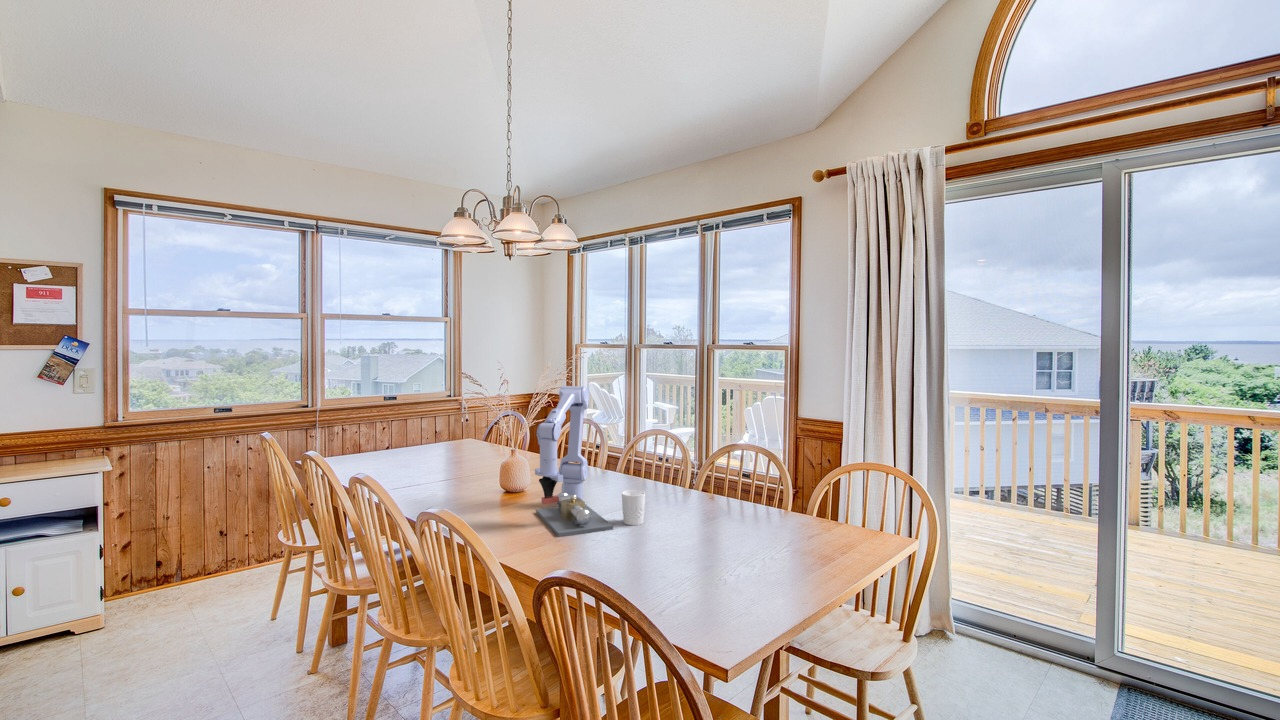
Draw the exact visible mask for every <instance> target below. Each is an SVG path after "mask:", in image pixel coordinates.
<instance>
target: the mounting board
mask: <svg viewBox="0 0 1280 720" xmlns="http://www.w3.org/2000/svg"><path fill="white" fill-rule="evenodd" d="M585 509H586V510H588V511H589V512H590V513H591V515H592V519H591V521H590V523H589V524H588V525H580V526H574V525H573V524H572V520H571V521H566V520H565V519H564V518H563V517H562V516H561V512H560V511H559V506H554V507H546V508H537V509H536V510H535V513H536V515H538V516H539V518H541V519H540V520H542V521H543V522H544V523H545V524H546V525H547V526H548V527H549V528H550V530H551V531H552V533H554V534H555V535H556V536H557V537H558V538H562V537H568V536H575V535H581V534H590V533H598V532H605V531H611V530H614V525H613V524H611V523H610V522H609V521H607V520H606V519H605V518H604V517H602V516H601V515H600V514H598V512H596V511H595V510H594V509H592V508H591V507H589V506H588V504H586V503H585Z"/></svg>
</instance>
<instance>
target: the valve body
mask: <svg viewBox="0 0 1280 720" xmlns="http://www.w3.org/2000/svg"><path fill="white" fill-rule="evenodd" d="M556 495H557V496H558V497H559V496H566V495H568V494H567V493H565V492H562V491H561V492H559V493H557V494H556ZM556 504H557V505H558V507H559V511H560V512H561V516H562V517H563V518H564V519H565V520H566V521H571V520H572V524H573V525H574V526H580V525H588V524H589V523H590V521H591V519H592V515H591V513H590V512H589V511H588V510H586V509H585V504H586V502H585V501H584V499H583V500H582V499H580V498H579V497H578V498H577V499H567V500H560V501H559V502H557V503H556Z"/></svg>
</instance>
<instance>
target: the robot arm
mask: <svg viewBox="0 0 1280 720" xmlns="http://www.w3.org/2000/svg"><path fill="white" fill-rule="evenodd" d="M558 397H559V400H558V403H557V405H556V407H554V408H552V409H551V410H550V411H549V414H548V415H547V417H546V418H545V420H544V422H541V423H540V424H538V426H537V429H536V437H537V444H538V446H539V467H538V468H535V469H534V475H536V476H538V477H542V478H539V479H538V482H539V484H540V486H541V487H542V491H543V494H544V495H543V497H548V496H554V490H555V487H556V486H557V484H558V483H560V482H562V484H561V492H565V493H567V494H568V495H569V494H576V495H577V498H578V497H579V498H580V499H582V500H583V501H584V481H586V480H587V478H588V476H589V475H588V474H589V466H588V463H589V462H588V459H587V458H586V457H584V456H583V455H582V444H583V428H584V416H585V415H584V414H585V410H588V408H589V402H590V401H589V400H590V392H589V388H588V386H587V385H585V386H584V385H583V386H581V385H580V386H575V385H562V386H561V387H560V389H559V392H558ZM568 410H569V411H570V419H569V420H570V421H569V431H568V444H567V445H568V446H567V454H566V455H565V456H563V457H562V458H561V459H560V463H559V466H558V440H559V439H560V438H561V437H560V436H561V432H562V426H563V424H564V423H565V421H566V418H567V415H566V413H567V411H568Z"/></svg>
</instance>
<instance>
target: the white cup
mask: <svg viewBox="0 0 1280 720" xmlns="http://www.w3.org/2000/svg"><path fill="white" fill-rule="evenodd" d="M645 506H646V491H644V490H640V489H628V490H624V491H622V492H621V507H622V516H623V517H622V518H623V519H622V520H623V524H625V525H627V526H639V525H640V526H641V525H642V524H644V520H645V519H644V517H645V509H646V507H645Z"/></svg>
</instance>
